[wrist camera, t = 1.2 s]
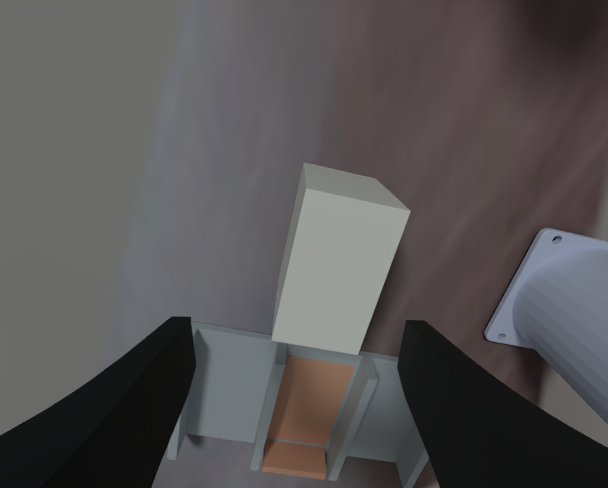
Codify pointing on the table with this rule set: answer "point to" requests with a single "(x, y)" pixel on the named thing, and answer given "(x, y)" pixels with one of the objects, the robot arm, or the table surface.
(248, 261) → the table surface
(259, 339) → the rack
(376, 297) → the off-white matte box
